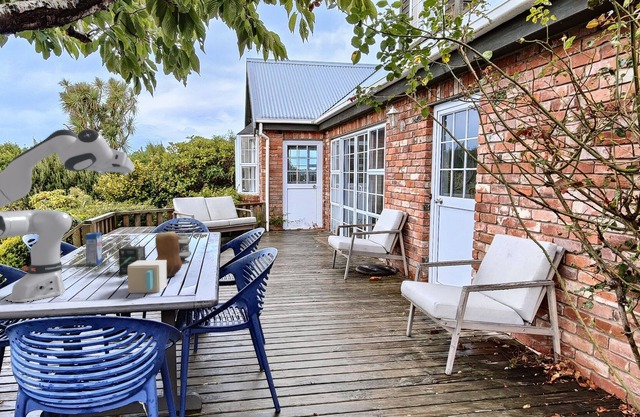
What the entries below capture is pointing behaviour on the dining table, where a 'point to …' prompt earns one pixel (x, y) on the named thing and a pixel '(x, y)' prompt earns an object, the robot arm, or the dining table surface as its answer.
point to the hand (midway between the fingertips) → (114, 174)
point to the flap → (142, 278)
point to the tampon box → (130, 257)
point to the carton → (161, 272)
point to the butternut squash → (169, 251)
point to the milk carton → (93, 248)
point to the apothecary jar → (184, 248)
